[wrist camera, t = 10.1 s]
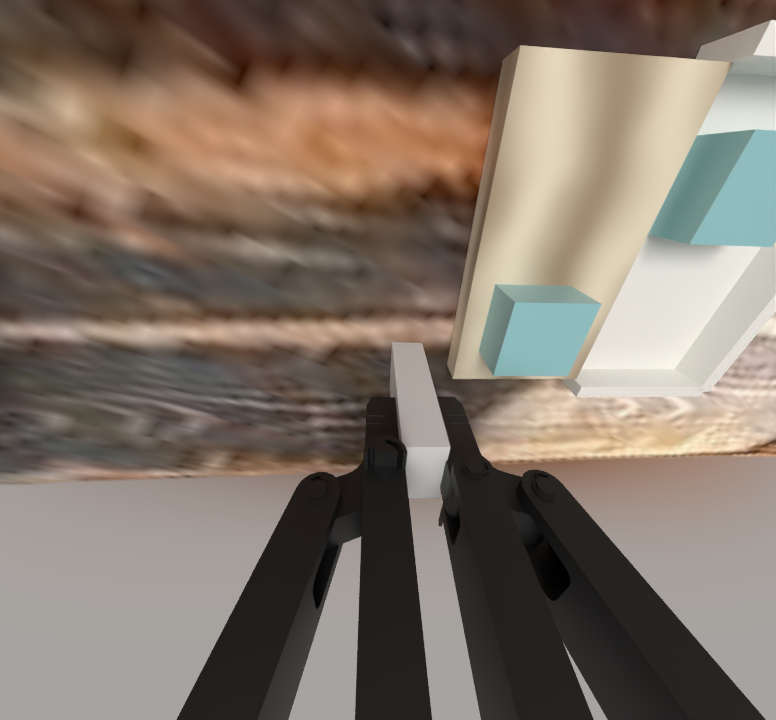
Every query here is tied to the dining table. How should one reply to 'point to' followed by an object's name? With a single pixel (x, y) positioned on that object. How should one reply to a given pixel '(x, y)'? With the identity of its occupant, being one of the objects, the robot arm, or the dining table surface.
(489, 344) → the tile
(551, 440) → the dining table surface
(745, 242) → the tile
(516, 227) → the board
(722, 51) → the tray
